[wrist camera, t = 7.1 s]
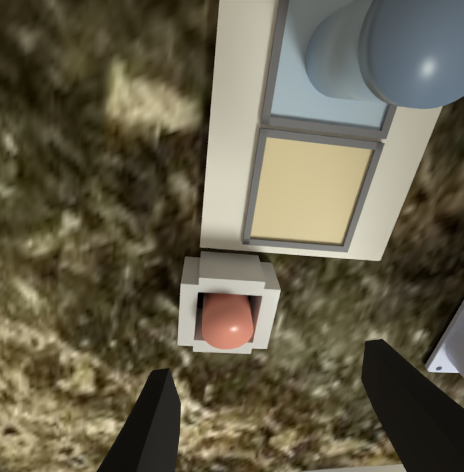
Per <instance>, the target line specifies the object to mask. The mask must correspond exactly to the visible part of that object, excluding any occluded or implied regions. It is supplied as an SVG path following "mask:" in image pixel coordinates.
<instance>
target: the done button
mask: <svg viewBox="0 0 464 472" xmlns="http://www.w3.org/2000/svg"><path fill="white" fill-rule="evenodd" d="M252 334H253V323H252V317H251V311H250V305H249V299H248V295H239V294H223V293H206V292H204V296H203V316H202V335H203V338H204V340H205V341H206V342H207V343H208V344H209V345H211V346H213V347H215V348H218V349H234V348H238V347H240V346H242V345H244V344H245V343H247V342H248V341H249V340H250V338H251V337H252Z"/></svg>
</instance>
